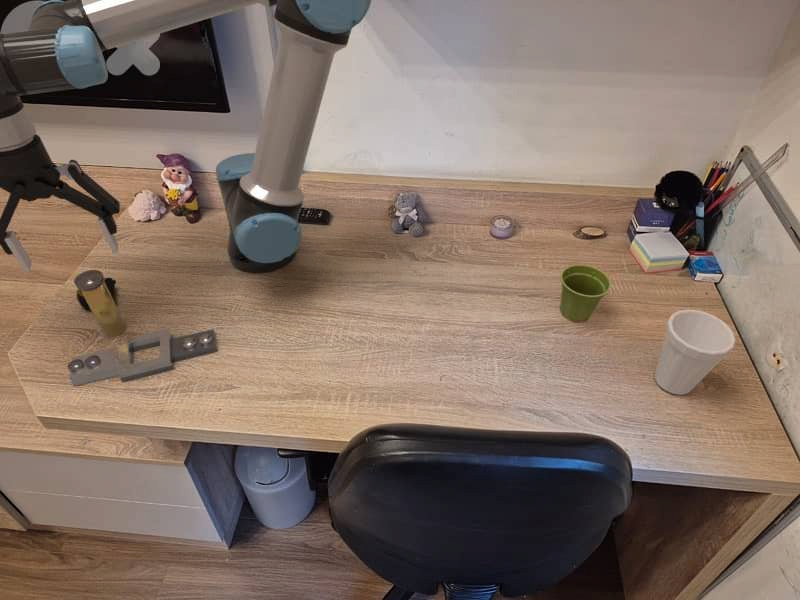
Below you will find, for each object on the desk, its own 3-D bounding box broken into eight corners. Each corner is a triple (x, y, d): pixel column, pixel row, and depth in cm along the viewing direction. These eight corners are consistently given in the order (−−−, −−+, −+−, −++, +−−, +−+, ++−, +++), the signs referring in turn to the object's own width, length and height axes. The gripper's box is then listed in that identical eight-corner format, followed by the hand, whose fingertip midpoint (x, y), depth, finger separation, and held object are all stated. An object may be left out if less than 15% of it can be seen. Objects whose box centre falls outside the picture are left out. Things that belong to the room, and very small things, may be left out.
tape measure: (116, 309, 106) (110, 295, 103) (79, 316, 104) (72, 302, 102) (119, 288, 111) (112, 274, 108) (83, 294, 109) (76, 280, 107)
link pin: (128, 318, 104) (103, 267, 95) (127, 334, 100) (101, 283, 92) (102, 324, 102) (75, 273, 94) (101, 340, 99) (73, 289, 90)
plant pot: (607, 310, 106) (619, 277, 100) (587, 336, 101) (598, 303, 95) (564, 290, 110) (574, 258, 105) (543, 314, 105) (552, 281, 99)
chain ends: (214, 326, 102) (210, 316, 100) (218, 358, 96) (215, 348, 94) (76, 358, 96) (69, 348, 94) (71, 394, 90) (65, 384, 88)
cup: (713, 382, 92) (746, 331, 84) (687, 415, 87) (720, 363, 78) (659, 352, 98) (685, 300, 89) (632, 380, 93) (657, 329, 84)
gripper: (104, 116, 81) (149, 230, 95) (-86, 144, 74) (-6, 261, 89) (102, 136, 76) (150, 253, 90) (-102, 168, 69) (-15, 288, 84)
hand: (73, 257), depth 89 cm, fingers open, 13 cm apart
